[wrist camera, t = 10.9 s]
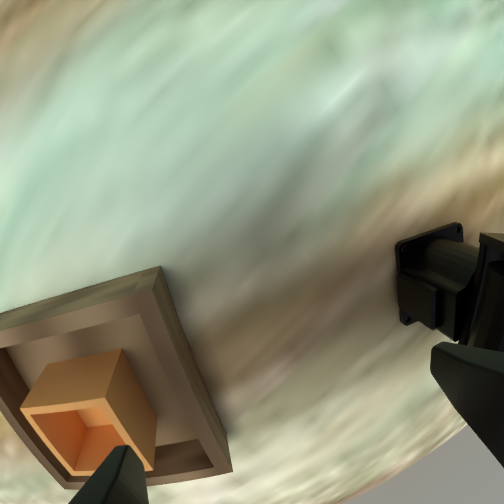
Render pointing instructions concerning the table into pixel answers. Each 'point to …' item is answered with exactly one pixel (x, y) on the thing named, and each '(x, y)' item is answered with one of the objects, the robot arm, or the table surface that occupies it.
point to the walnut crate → (139, 357)
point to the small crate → (91, 411)
